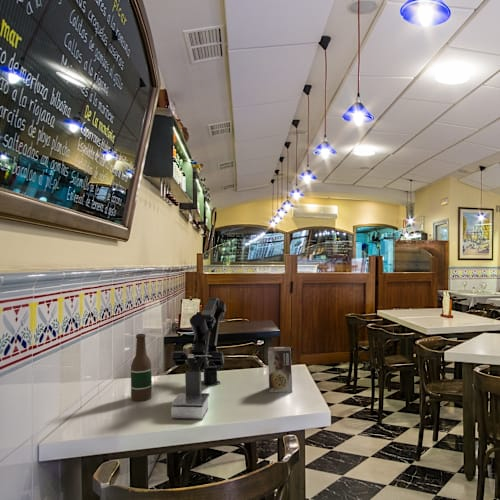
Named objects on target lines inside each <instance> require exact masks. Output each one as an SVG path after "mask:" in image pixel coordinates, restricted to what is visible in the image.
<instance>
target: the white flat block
mask: <svg viewBox="0 0 500 500" xmlns="http://www.w3.org/2000/svg"><path fill="white" fill-rule="evenodd" d="M208 410H209V398H208V399H207V400H206V402H205V404H204V405H203V406H193V405H171V420H173V421H174V420H176V421H179V420H181V421H188V420H189V421H203V419H204V418H205V416H206V414H207V412H208Z"/></svg>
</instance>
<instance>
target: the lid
mask: <svg viewBox="0 0 500 500" xmlns="http://www.w3.org/2000/svg"><path fill="white" fill-rule="evenodd" d="M184 373H185V374H184V377H185V392H180V393H178V395H177V396H176V397H175V398H174V399H173V400H172V402H171V403H170V404H171V406H173V405H193V406H203V405H204V404H205V402H206V400H207V399H208V400H209V398H210V393H209V392H208V393H205V392H203V391H202V383H201V381H202V371H201V370H191V369H186V370H185V372H184Z"/></svg>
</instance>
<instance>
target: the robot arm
mask: <svg viewBox="0 0 500 500" xmlns="http://www.w3.org/2000/svg"><path fill="white" fill-rule="evenodd" d="M226 312H227V305H226V303H225V301H222V300H221V299H220V298H219V297H209V298H207V301H206V305H205V306H204V308H203V310H202V311H196V314H193V315H192V316H191V317H190V319H189V323H190V326H191V329H192V332H193V334H194V336H193V337H194V338H193V340H192V348H191V349H190V353H188V354H187V355H185V352H184V351H173V352H172V354H171V357H170V358H171V361H172V362H173V365H174V366H177V367H178V366H179V367H182V366H185V365H186V363H187V366H188V368H190V370H201V372H203V380H201V384H202V385H204V386H206V387H209V386H214V385H219V384H221V381H220V380H218V370H221V369H222V368H223V366H224V365H225V357H224V353H223V351H218V348H217V344H218V338H219V337H218V336H219V331H220V324H221V323H220V322H221V321H222V320H223V319H224V317H225V313H226Z"/></svg>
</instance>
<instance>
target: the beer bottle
mask: <svg viewBox="0 0 500 500" xmlns="http://www.w3.org/2000/svg"><path fill="white" fill-rule="evenodd" d="M146 336H147V335H146V334H145V333H138V334H136V336H135V339H136V343H135V344H136V345H135V347H136V348H135V350H136V351H135V356H134V358H133V359H132V362H131V365H130V395H131V397H130V398H131V401H134V402H139V403H140V402H145V401H148V400H150V399H151V398H152V390H153V389H152V388H153V387H152V362H151V358H150V356H148V355H147V348H146V347H147V344H146Z"/></svg>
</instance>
